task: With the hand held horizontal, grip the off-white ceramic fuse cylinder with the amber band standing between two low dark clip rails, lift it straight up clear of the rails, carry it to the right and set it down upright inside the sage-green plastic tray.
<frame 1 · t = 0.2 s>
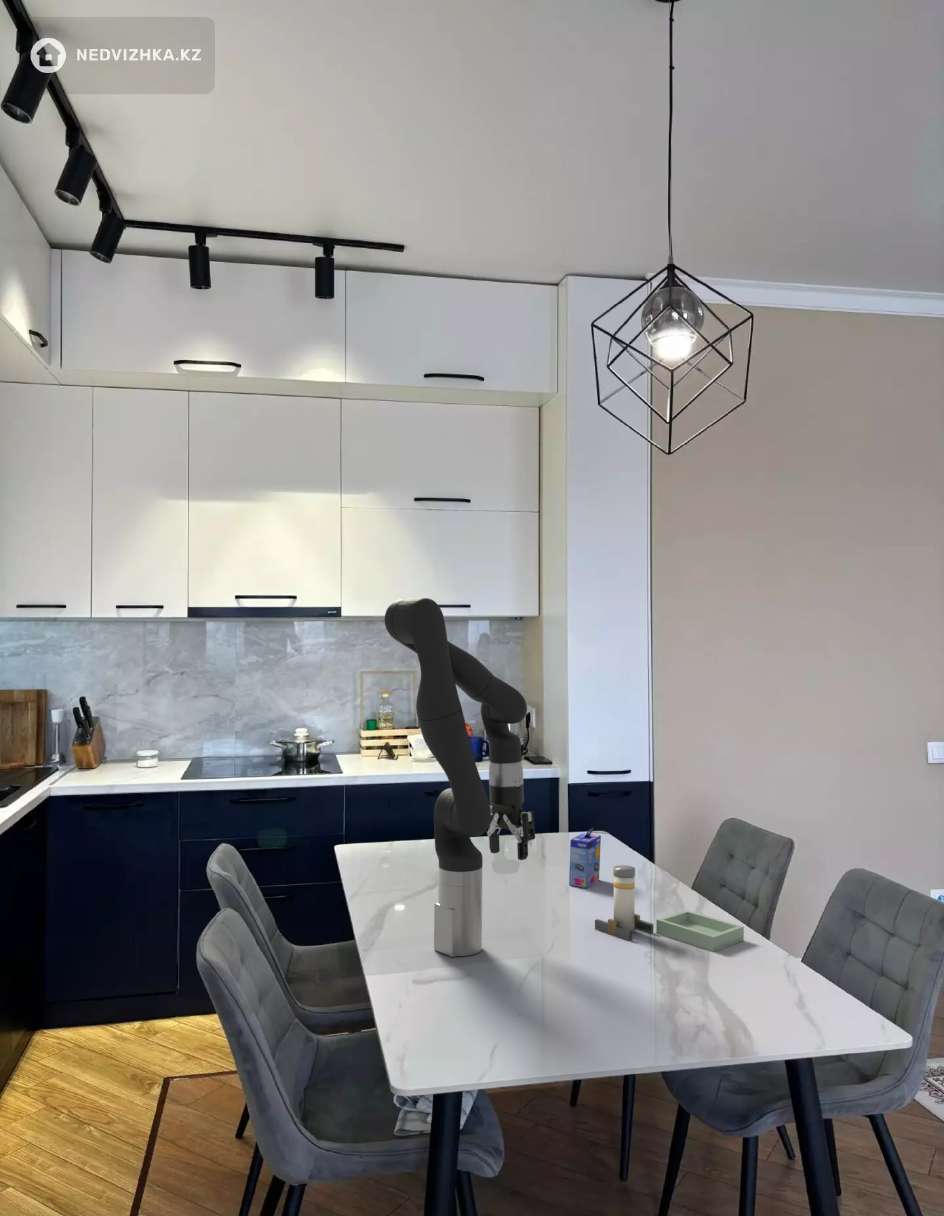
hand: (508, 856, 200), 17 cm above the table, tool pointing down, fingers open, 8 cm apart
tray: (699, 937, 200), on the table
clip rails: (623, 931, 204), on the table
fuse: (623, 931, 204), on the table
ink cartridge box: (584, 883, 242), on the table
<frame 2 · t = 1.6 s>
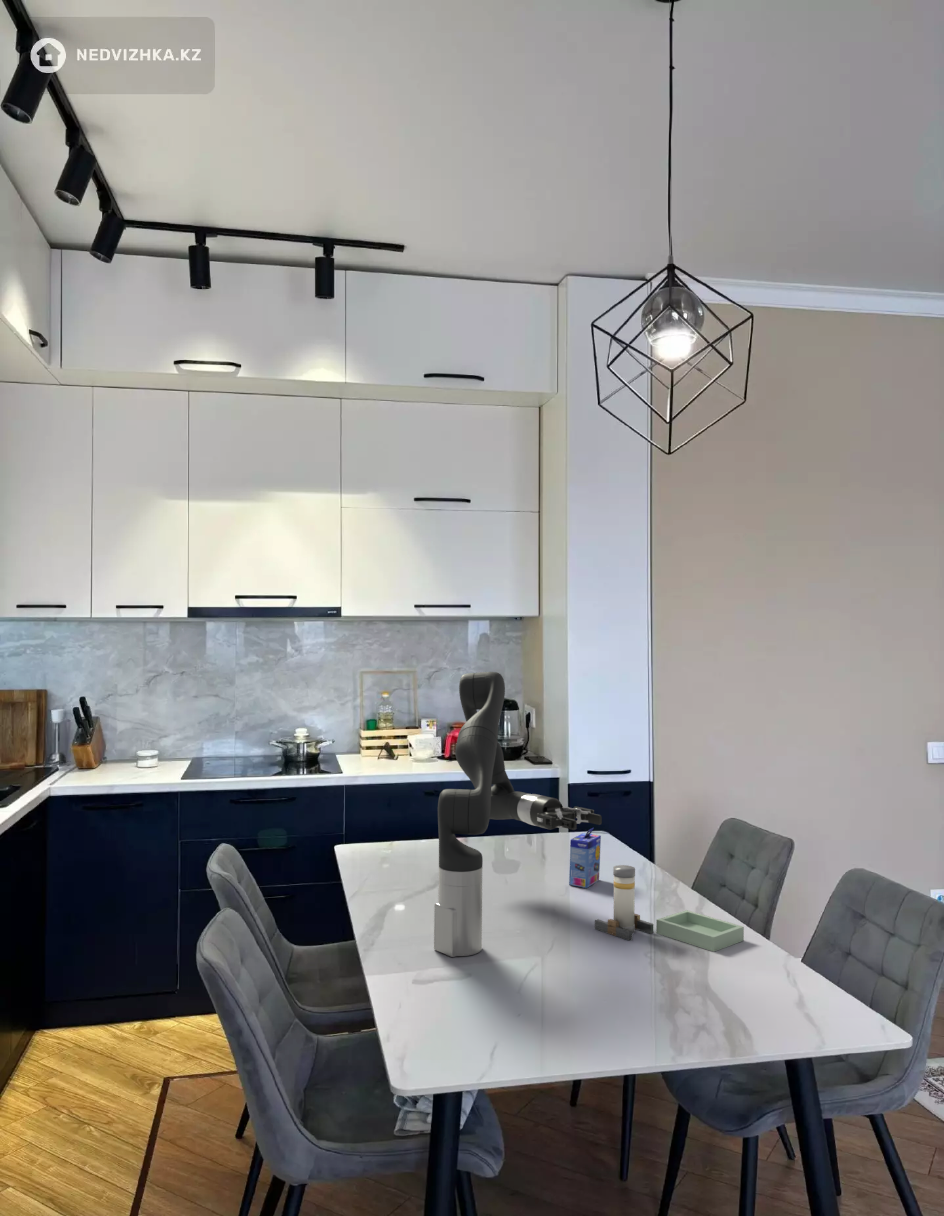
hand: (588, 822, 213), 22 cm above the table, tool horizontal, fingers open, 8 cm apart
nothing on the table moved.
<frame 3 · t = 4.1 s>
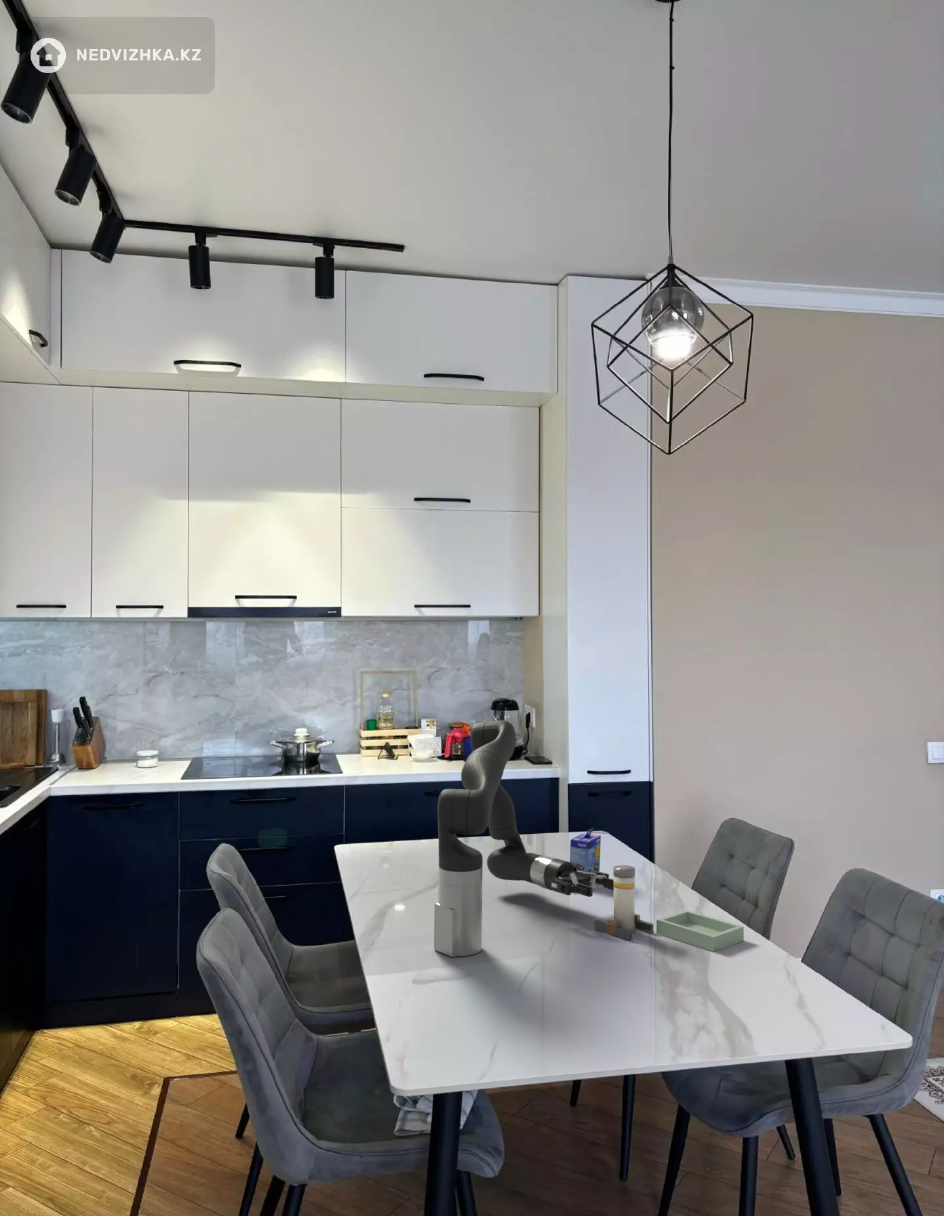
hand: (604, 889, 208), 8 cm above the table, tool horizontal, fingers open, 8 cm apart
nothing on the table moved.
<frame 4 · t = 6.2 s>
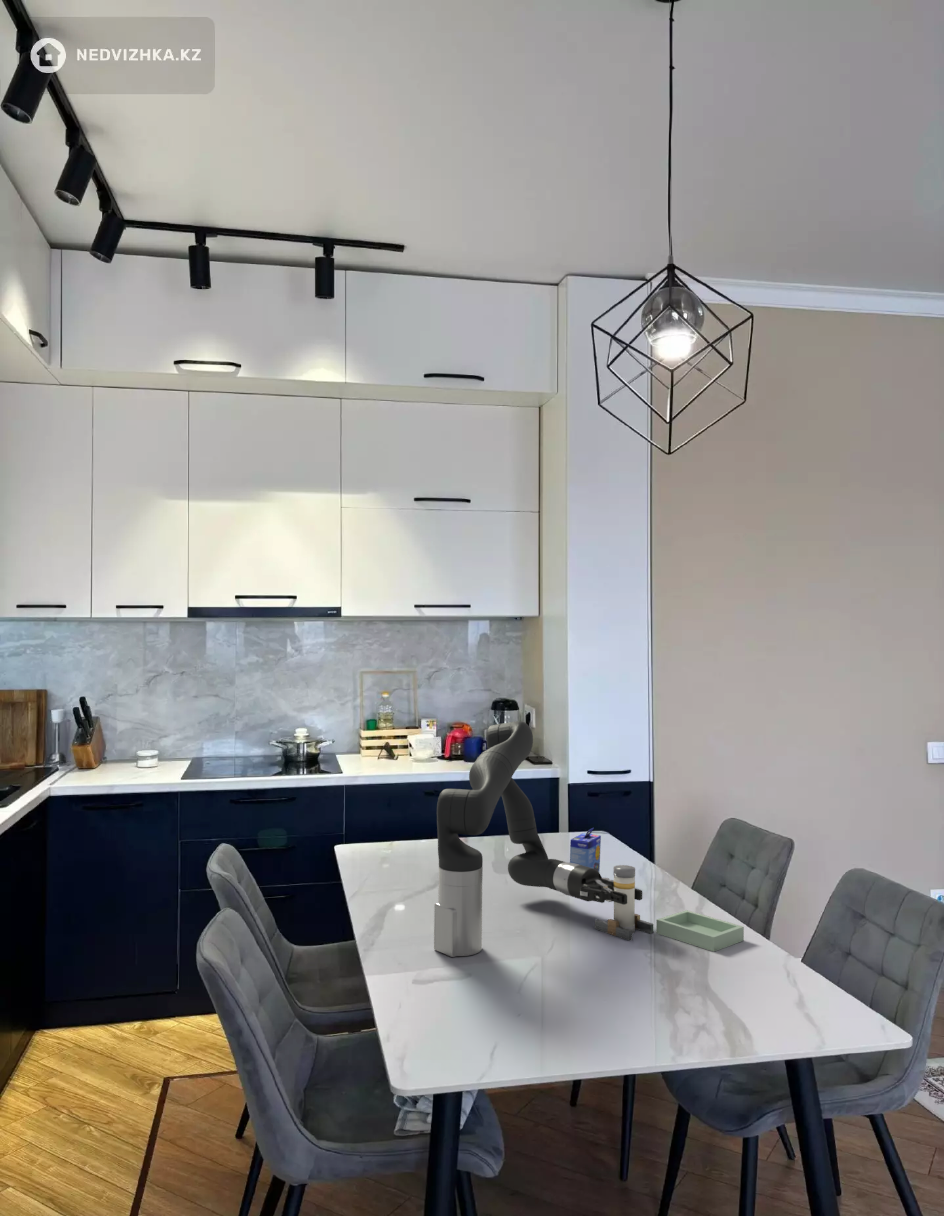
hand: (633, 897, 202), 8 cm above the table, tool horizontal, fingers closed on fuse, 4 cm apart
fuse: (624, 931, 204), on the table, touching gripper
everything else where it was.
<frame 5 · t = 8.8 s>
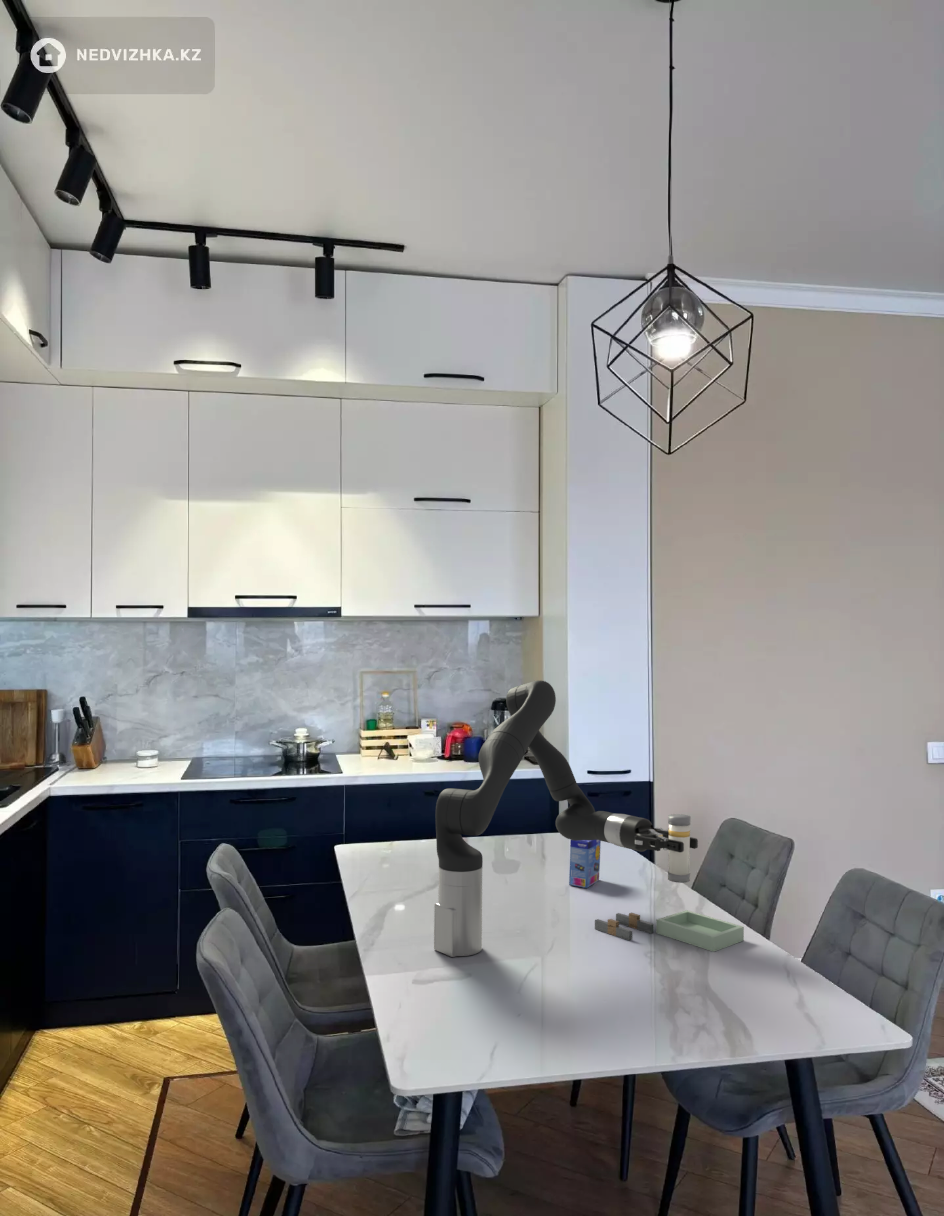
hand: (689, 845, 201), 20 cm above the table, tool horizontal, fingers closed on fuse, 4 cm apart
fuse: (678, 879, 203), point 12 cm above the table, touching gripper
everything else where it was.
when the fingers open (10 cm above the table, at t = 11.5 s): fuse stays where it is, resting on tray.
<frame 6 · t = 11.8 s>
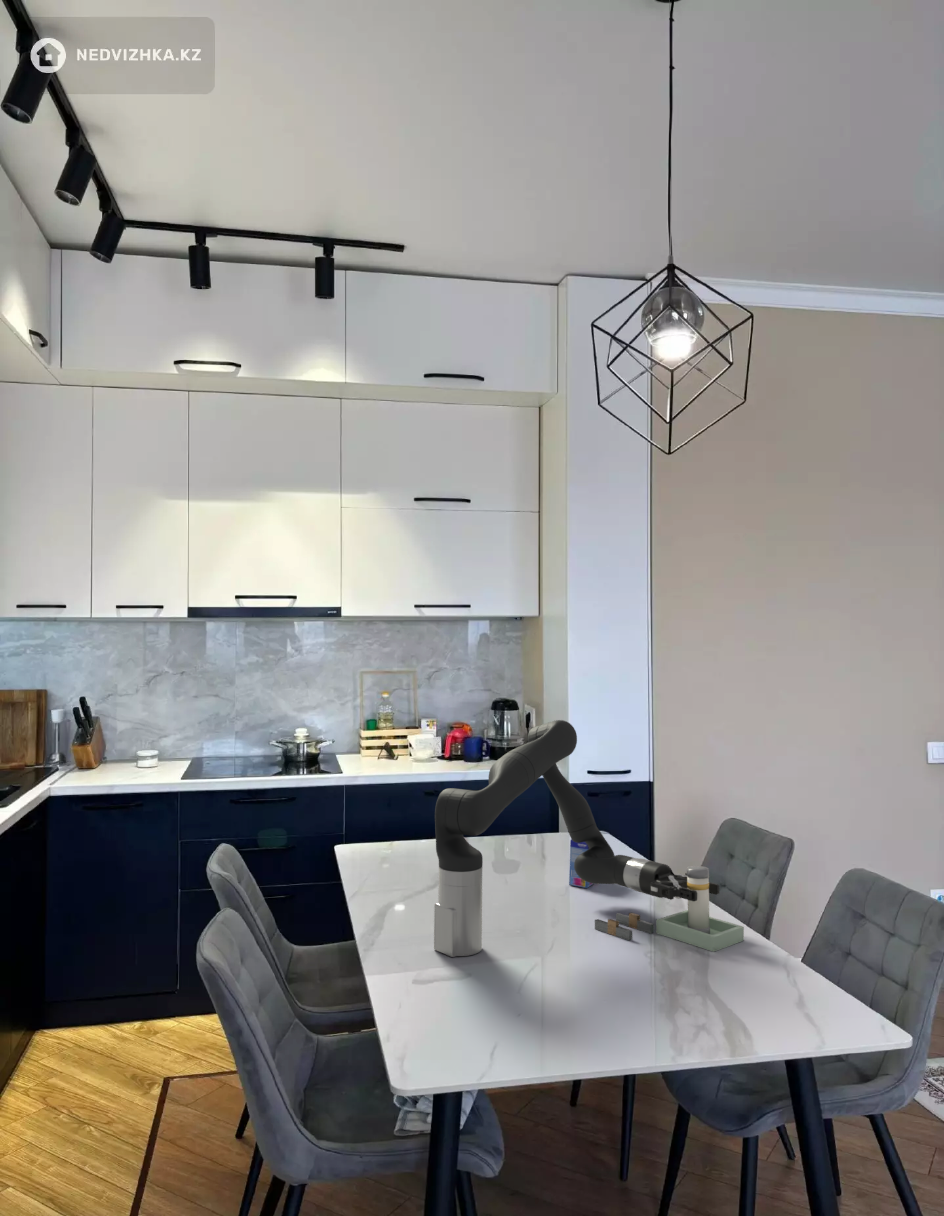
hand: (707, 893, 199), 10 cm above the table, tool horizontal, fingers open, 7 cm apart
fuse: (698, 933, 200), point 1 cm above the table, touching tray
everything else where it was.
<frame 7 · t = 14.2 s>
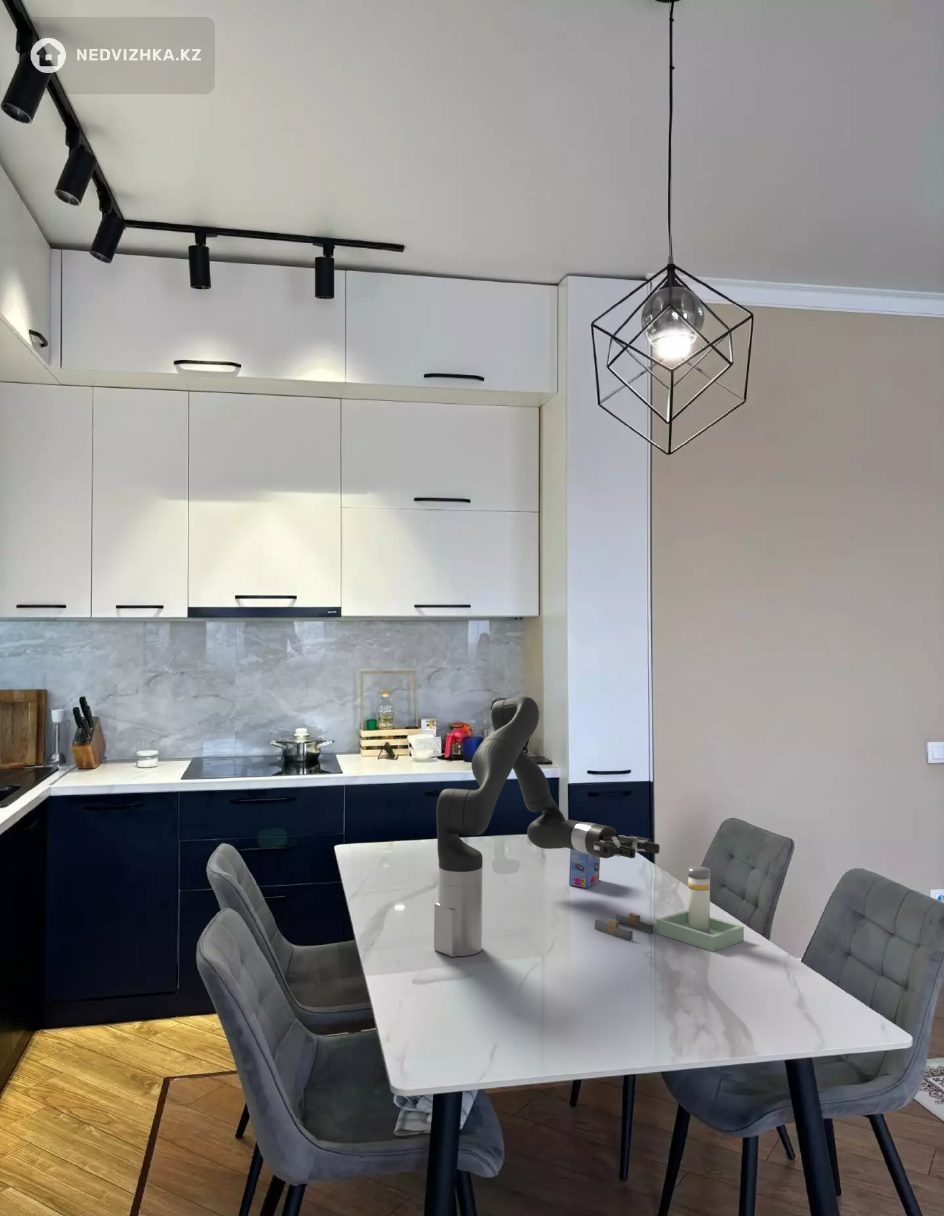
hand: (646, 851, 210), 16 cm above the table, tool horizontal, fingers open, 8 cm apart
nothing on the table moved.
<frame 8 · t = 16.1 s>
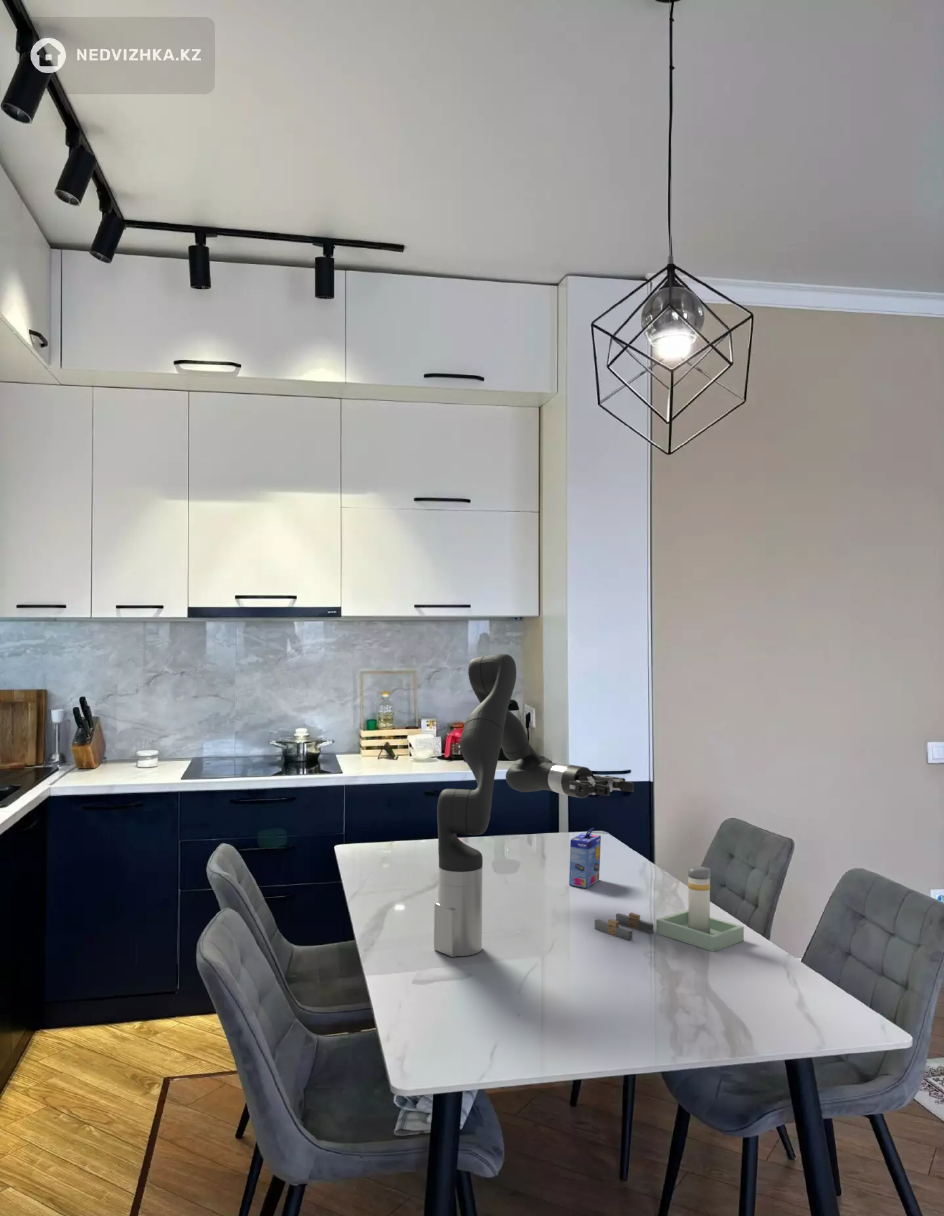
hand: (621, 789, 213), 30 cm above the table, tool horizontal, fingers open, 8 cm apart
nothing on the table moved.
at the end: fuse inside the target area on the tray (0.1 cm from its centre), point 0.8 cm above the tray's base; fuse tilted 0°; the gripper is holding nothing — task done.
